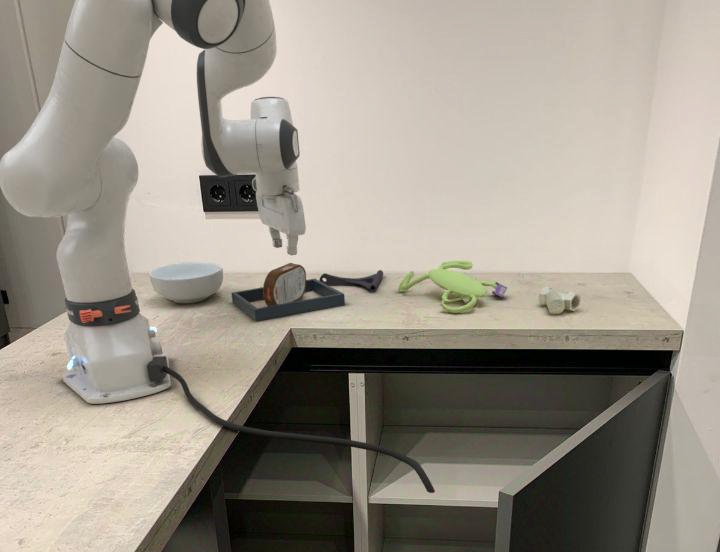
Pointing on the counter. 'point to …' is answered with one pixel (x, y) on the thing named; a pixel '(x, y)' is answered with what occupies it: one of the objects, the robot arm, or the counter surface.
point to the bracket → (354, 280)
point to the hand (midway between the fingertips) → (284, 250)
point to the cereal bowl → (187, 281)
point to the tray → (327, 301)
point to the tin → (284, 284)
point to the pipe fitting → (559, 300)
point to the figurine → (455, 284)
